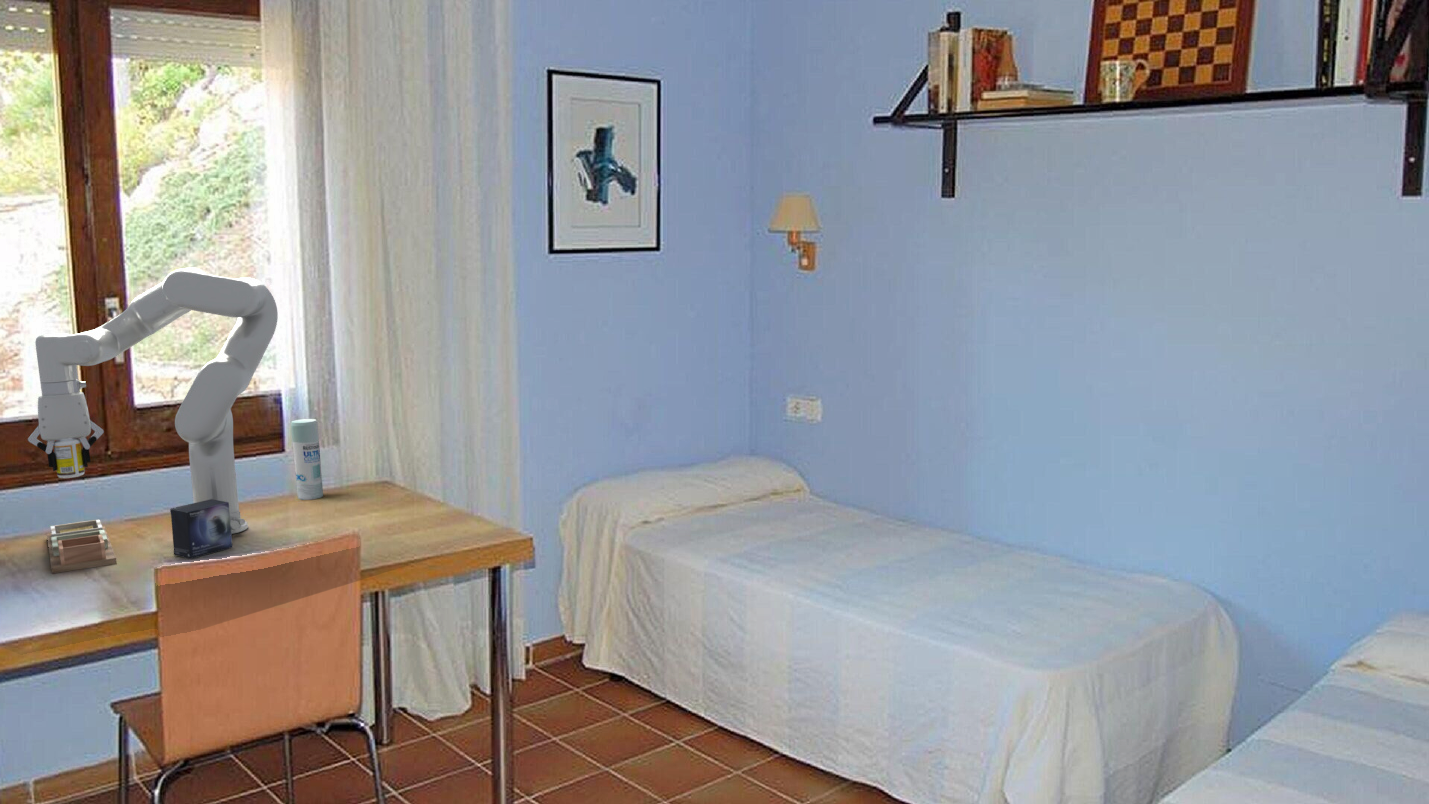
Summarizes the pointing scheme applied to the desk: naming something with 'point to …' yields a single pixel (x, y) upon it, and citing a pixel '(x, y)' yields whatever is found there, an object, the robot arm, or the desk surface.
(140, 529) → the desk surface
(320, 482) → the spray paint can
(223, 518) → the small box
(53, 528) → the board
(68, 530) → the plate
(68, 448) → the supplement bottle
